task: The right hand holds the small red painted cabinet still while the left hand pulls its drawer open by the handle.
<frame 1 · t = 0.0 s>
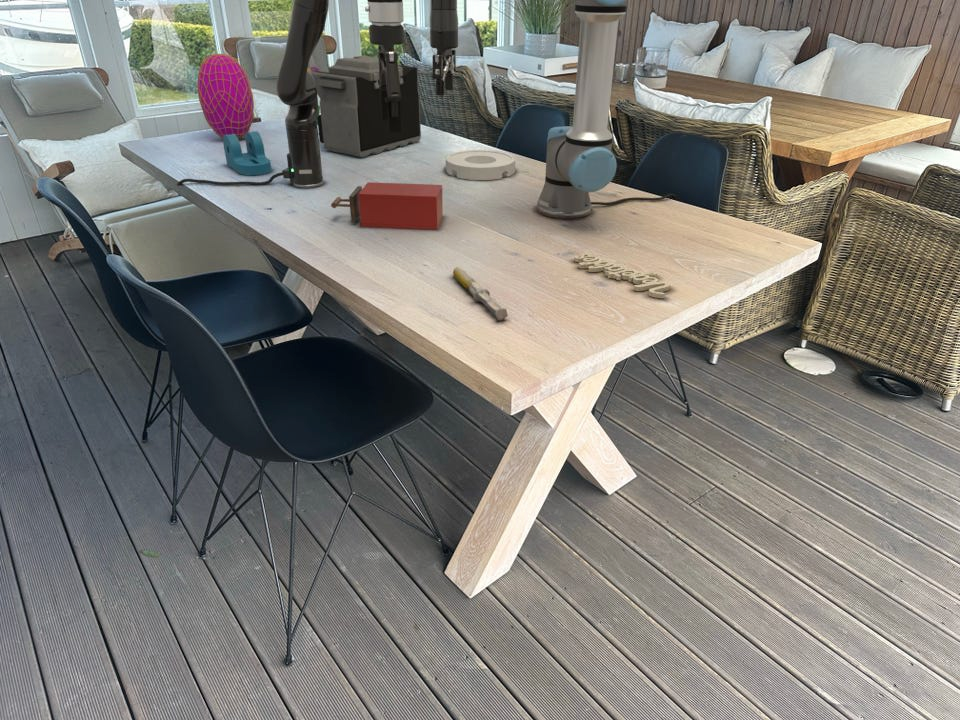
left hand: (444, 92, 191), 29 cm above the table, tool pointing down, fingers open, 8 cm apart
right hand: (391, 125, 159), 28 cm above the table, tool pointing down, fingers open, 13 cm apart
potted flower: (312, 123, 292), on the table
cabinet: (402, 221, 186), on the table
decorative egg: (233, 139, 265), on the table
decorative sign: (623, 275, 156), on the table
drawer: (379, 204, 184), point 4 cm above the table, slide at 1.5 cm
camera mount: (251, 168, 229), on the table
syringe: (478, 297, 145), on the table
cooler box: (371, 146, 258), on the table
ashtray: (480, 171, 230), on the table
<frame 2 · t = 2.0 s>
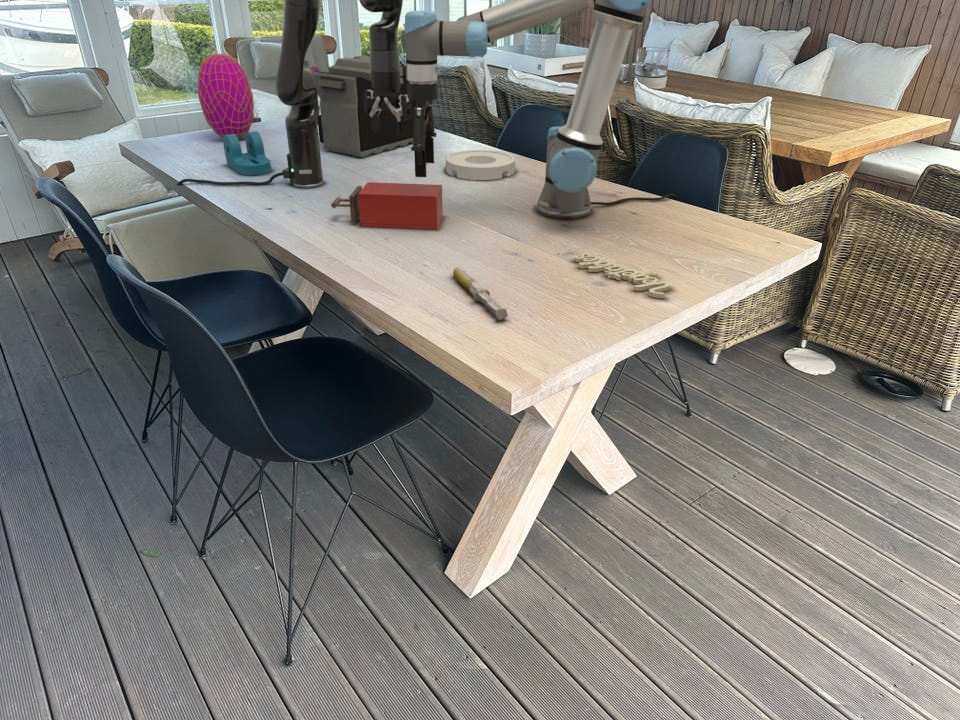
left hand: (388, 133, 184), 21 cm above the table, tool pointing down, fingers open, 8 cm apart
right hand: (425, 169, 178), 14 cm above the table, tool pointing down, fingers open, 13 cm apart
nothing on the table moved.
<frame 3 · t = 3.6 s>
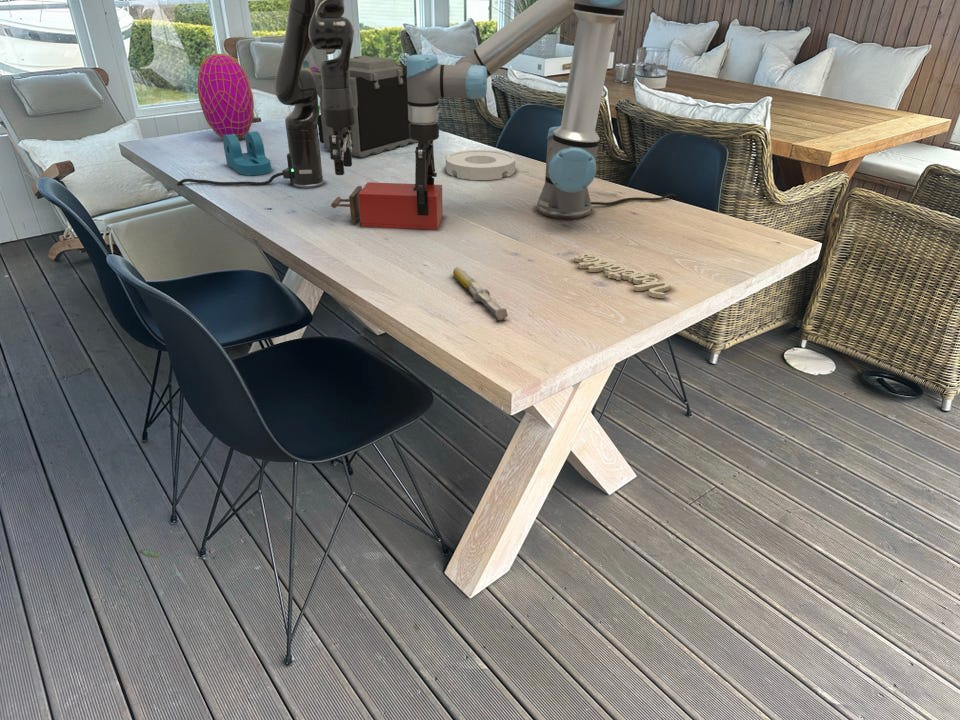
left hand: (344, 170, 180), 13 cm above the table, tool pointing down, fingers open, 8 cm apart
right hand: (426, 208, 183), 4 cm above the table, tool pointing down, fingers closed on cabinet, 11 cm apart
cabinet: (402, 221, 186), on the table, touching right hand
everything else where it was.
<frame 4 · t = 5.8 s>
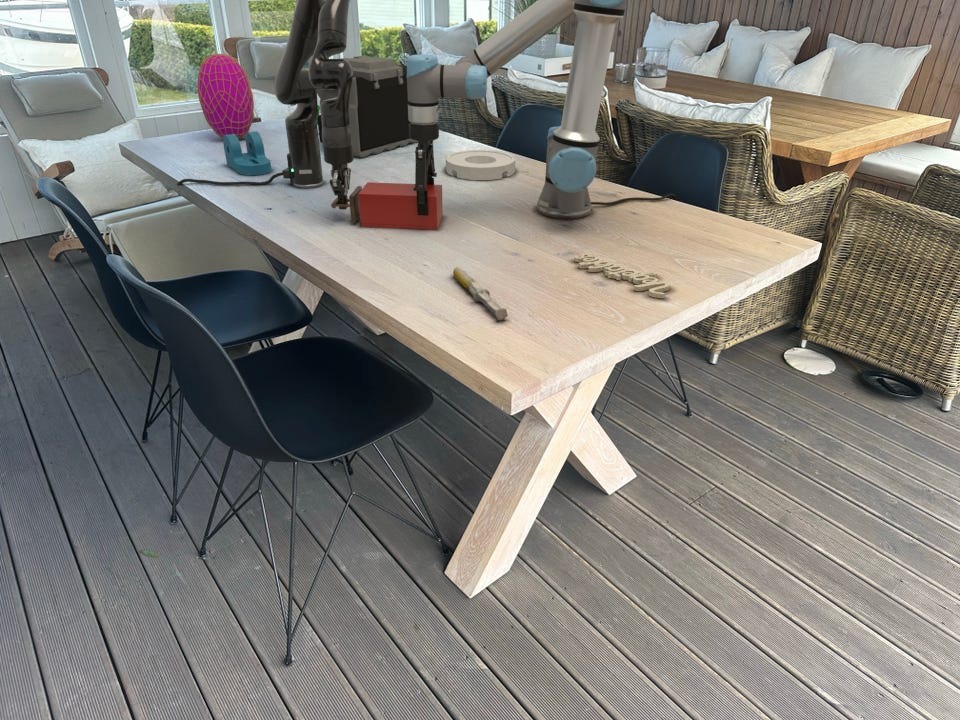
left hand: (343, 208, 185), 3 cm above the table, tool pointing down, fingers closed
right hand: (426, 208, 183), 4 cm above the table, tool pointing down, fingers closed on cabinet, 11 cm apart
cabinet: (402, 221, 186), on the table, touching right hand
drawer: (379, 204, 184), point 4 cm above the table, slide at 1.5 cm, touching left hand
everything else where it was.
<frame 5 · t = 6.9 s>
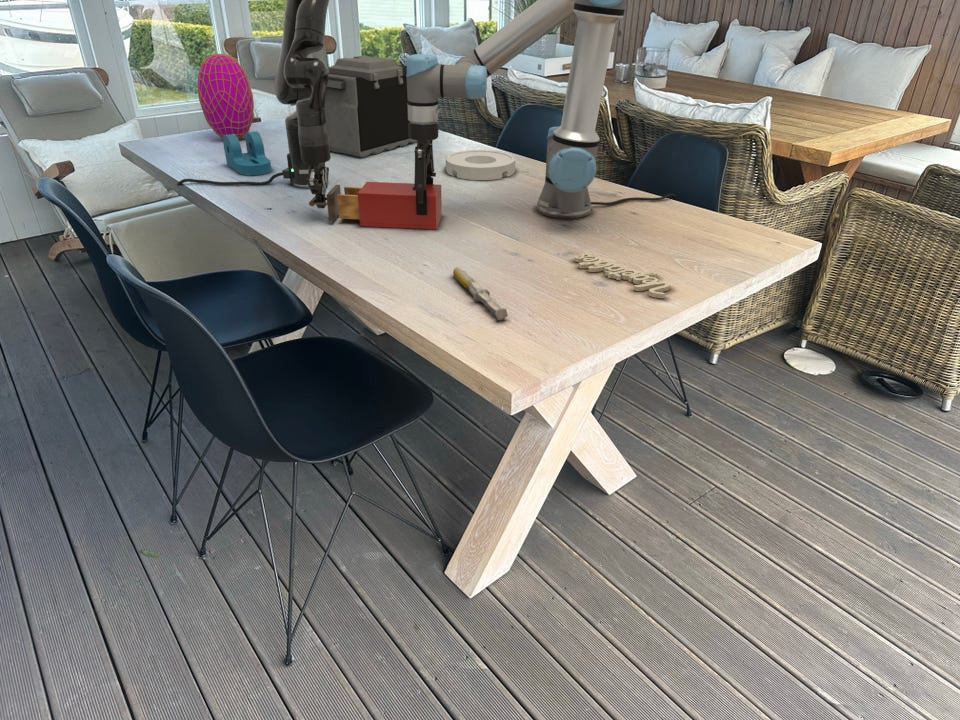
left hand: (321, 207, 185), 3 cm above the table, tool pointing down, fingers closed
right hand: (425, 207, 183), 4 cm above the table, tool pointing down, fingers closed on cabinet, 11 cm apart
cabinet: (401, 221, 185), on the table, touching right hand
drawer: (357, 203, 184), point 5 cm above the table, slide at 7.3 cm, touching left hand
everything else where it was.
when the right hand's fingers open (4 cm above the table, at t = 8.7 s): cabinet stays where it is, on the table.
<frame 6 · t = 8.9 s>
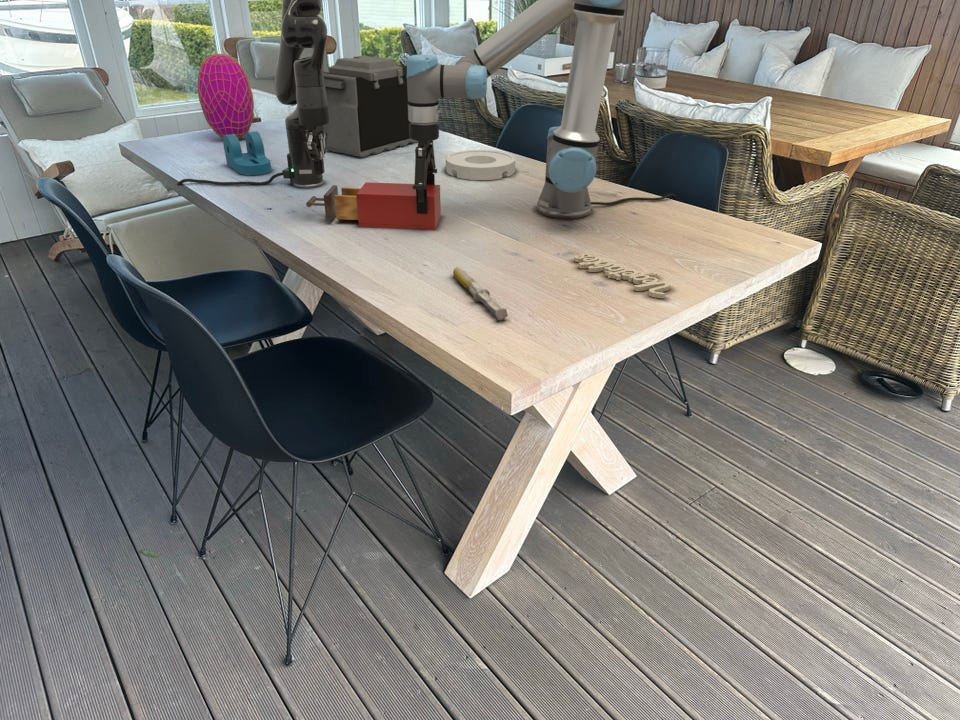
left hand: (319, 173, 181), 12 cm above the table, tool pointing down, fingers closed
right hand: (426, 205, 183), 5 cm above the table, tool pointing down, fingers open, 13 cm apart
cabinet: (400, 221, 186), on the table
drawer: (354, 203, 184), point 4 cm above the table, slide at 7.7 cm
everything else where it was.
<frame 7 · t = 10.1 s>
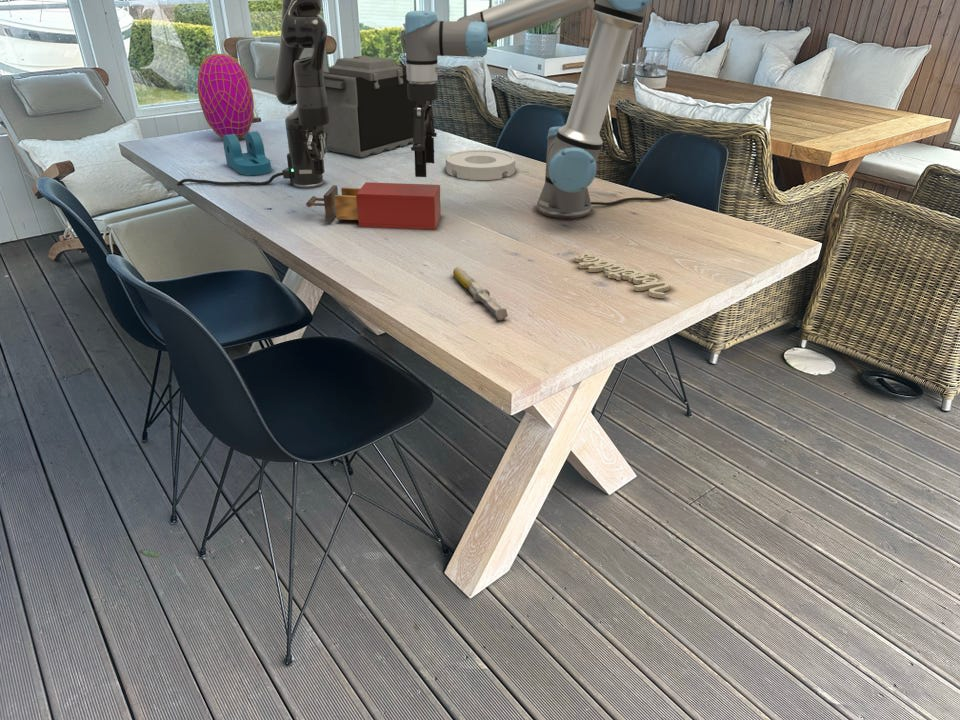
left hand: (319, 173, 181), 12 cm above the table, tool pointing down, fingers closed
right hand: (425, 169, 178), 14 cm above the table, tool pointing down, fingers open, 13 cm apart
nothing on the table moved.
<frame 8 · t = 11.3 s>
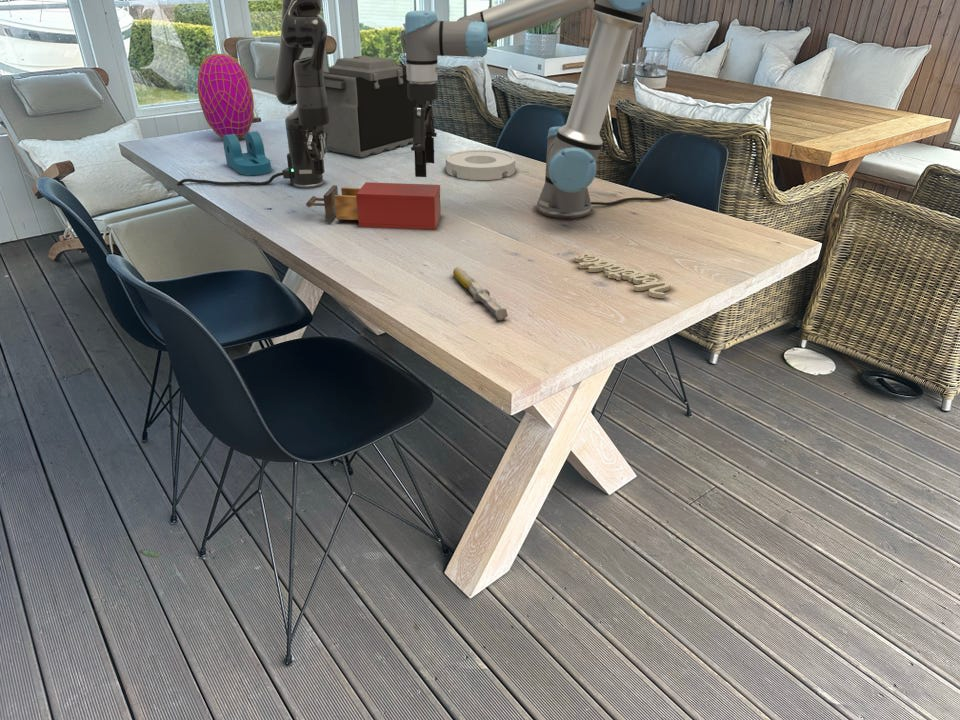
left hand: (319, 173, 181), 12 cm above the table, tool pointing down, fingers closed
right hand: (425, 169, 178), 14 cm above the table, tool pointing down, fingers open, 13 cm apart
nothing on the table moved.
at the end: drawer slide at 7.7 cm; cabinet tilted 0°; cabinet never tilted more than 4° during the clip; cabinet moved 0.6 cm from its start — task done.
